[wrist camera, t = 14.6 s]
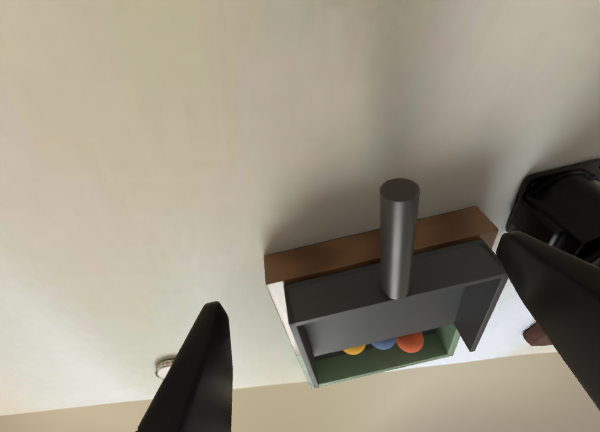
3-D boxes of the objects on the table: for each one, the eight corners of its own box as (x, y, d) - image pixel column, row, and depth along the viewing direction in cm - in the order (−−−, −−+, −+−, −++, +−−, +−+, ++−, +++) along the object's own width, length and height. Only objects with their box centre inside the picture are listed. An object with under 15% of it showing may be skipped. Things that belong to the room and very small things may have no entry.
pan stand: (476, 205, 26) (499, 229, 23) (452, 292, 34) (467, 316, 32) (263, 256, 26) (265, 284, 23) (292, 329, 34) (296, 356, 32)
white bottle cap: (179, 377, 37) (178, 383, 37) (149, 370, 35) (147, 376, 35) (199, 364, 36) (199, 370, 35) (169, 356, 34) (168, 362, 33)
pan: (456, 319, 32) (475, 352, 29) (308, 354, 32) (314, 389, 29) (515, 133, 18) (563, 163, 15) (250, 196, 18) (252, 237, 15)
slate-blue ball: (401, 335, 32) (401, 351, 34) (390, 311, 35) (390, 327, 37) (372, 342, 32) (373, 358, 34) (363, 317, 35) (365, 333, 37)
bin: (452, 292, 34) (467, 316, 32) (441, 333, 41) (453, 355, 38) (292, 329, 34) (296, 356, 32) (306, 365, 41) (310, 389, 38)
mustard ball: (359, 315, 35) (367, 334, 32) (364, 336, 36) (372, 357, 33) (333, 321, 35) (338, 341, 32) (338, 343, 36) (343, 364, 33)
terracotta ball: (418, 316, 36) (421, 339, 34) (424, 334, 38) (428, 357, 35) (391, 320, 38) (392, 342, 35) (398, 336, 39) (400, 359, 36)
